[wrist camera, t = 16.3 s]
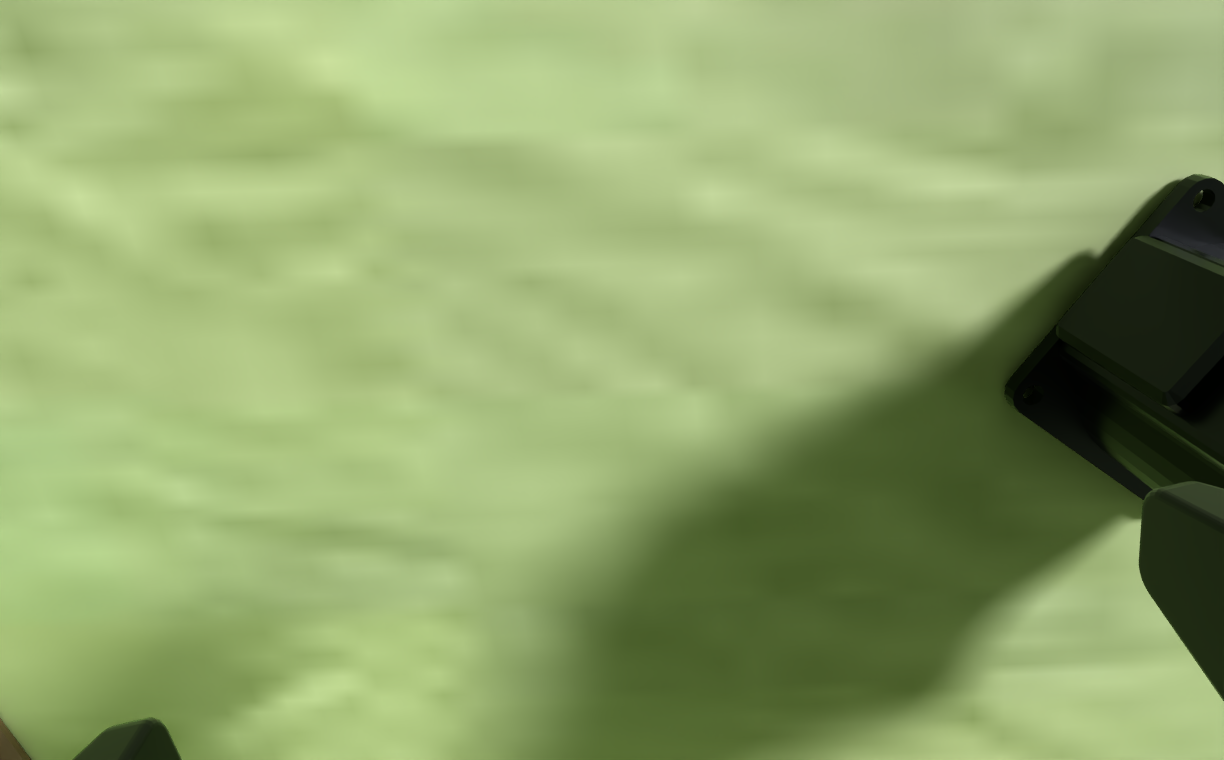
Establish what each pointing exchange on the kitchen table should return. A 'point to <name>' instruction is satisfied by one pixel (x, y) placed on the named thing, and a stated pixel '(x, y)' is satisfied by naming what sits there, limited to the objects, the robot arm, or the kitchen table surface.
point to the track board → (10, 745)
